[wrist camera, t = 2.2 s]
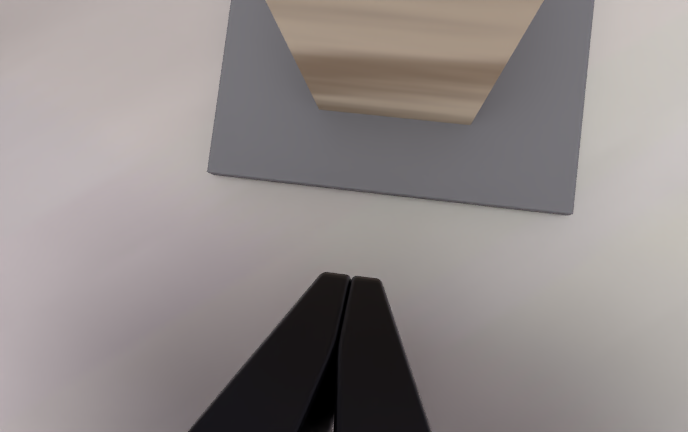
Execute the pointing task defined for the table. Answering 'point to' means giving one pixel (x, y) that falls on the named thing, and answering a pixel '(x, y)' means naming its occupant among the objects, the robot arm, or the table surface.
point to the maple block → (403, 53)
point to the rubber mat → (410, 122)
